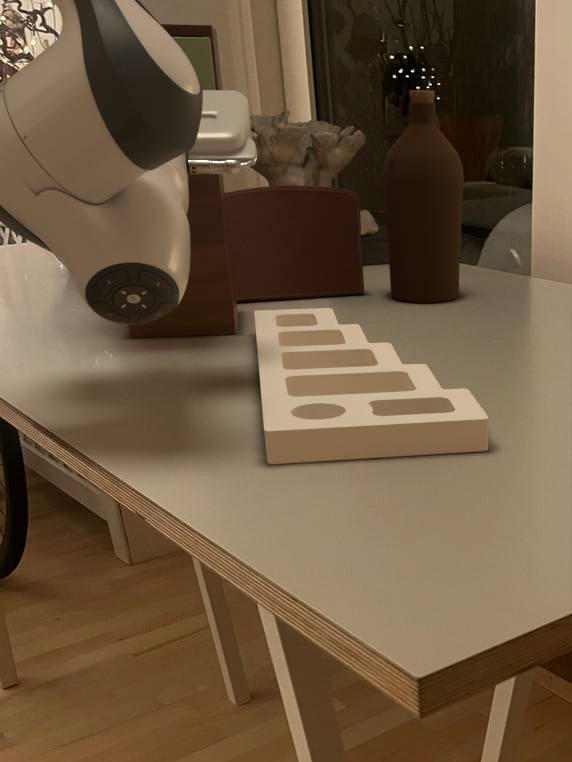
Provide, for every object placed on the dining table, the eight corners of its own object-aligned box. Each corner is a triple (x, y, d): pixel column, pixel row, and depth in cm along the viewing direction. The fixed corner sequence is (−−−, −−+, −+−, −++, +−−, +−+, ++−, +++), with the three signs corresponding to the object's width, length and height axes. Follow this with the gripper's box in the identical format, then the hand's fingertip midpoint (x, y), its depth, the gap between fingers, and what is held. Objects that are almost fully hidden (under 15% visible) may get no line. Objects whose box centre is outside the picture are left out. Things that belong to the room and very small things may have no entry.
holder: (256, 334, 116) (254, 310, 115) (407, 328, 120) (407, 305, 118) (267, 464, 78) (264, 431, 77) (489, 450, 82) (489, 418, 80)
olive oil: (446, 307, 131) (445, 91, 119) (374, 300, 134) (365, 90, 122) (473, 292, 140) (475, 90, 127) (405, 286, 143) (400, 89, 130)
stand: (244, 337, 115) (211, 24, 99) (119, 342, 112) (65, 21, 97) (245, 312, 127) (216, 29, 111) (132, 316, 124) (85, 26, 109)
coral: (238, 273, 151) (220, 114, 140) (212, 253, 167) (195, 109, 156) (392, 263, 160) (387, 113, 149) (354, 245, 176) (347, 109, 165)
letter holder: (365, 295, 138) (360, 184, 130) (221, 305, 131) (207, 188, 124) (345, 282, 145) (339, 177, 138) (208, 291, 139) (195, 180, 132)
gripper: (255, 136, 83) (247, 43, 90) (-3, 135, 80) (8, 39, 86) (261, 202, 89) (253, 110, 95) (19, 204, 85) (28, 108, 92)
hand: (135, 76), depth 91 cm, fingers closed on drawer, 3 cm apart
